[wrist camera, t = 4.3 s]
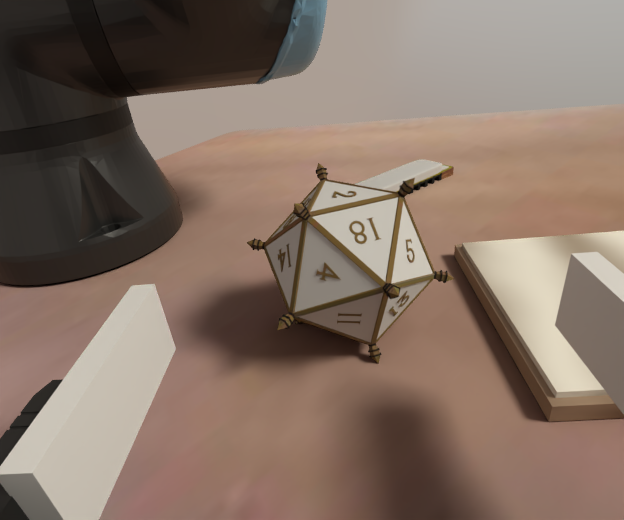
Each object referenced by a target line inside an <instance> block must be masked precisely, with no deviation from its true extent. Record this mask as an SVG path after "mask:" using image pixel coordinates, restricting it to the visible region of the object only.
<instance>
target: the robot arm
mask: <svg viewBox="0 0 624 520" xmlns="http://www.w3.org/2000/svg"><path fill="white" fill-rule="evenodd" d="M326 8H327V0H0V282H2V283H6V284H13V285H41V284H50V283H57V282H63V281H69V280H74V279H78V278H82V277H86V276H90V275H94V274H97V273H100V272H104V271H107V270H110V269H113V268H115V267H118V266H121V265H123V264H126V263H128V262H131V261H133V260H135V259H137V258H139V257H141V256H143V255H145V254H147V253H149V252H151V251H153V250H154V249H156V248H158V247H159V246H161V245H162V244H164V243H165V242H166V241H168V240H169V239H170V238H171V237H172V236H173V235H174V234H175V233H176V232H177V231H178V230H179V228H180V227H181V224H182V221H183V217H182V213H181V209H180V205H179V202H178V198H177V195H176V193H175V191H174V189H173V188H172V186H171V185H170V183H169V182H168V180H167V179H166V177H165V176H164V174H163V173H162V171H161V170H160V168H159V167H158V165H157V164H156V162H155V160H154V159H153V158H152V156H151V154H150V153H149V152H148V150H147V148H146V147H145V145H144V144H143V142H142V141H141V139H140V138H139V136H138V134H137V132H136V130H135V127H134V123H133V120H132V117H131V113H130V110H129V107H128V103H127V98H126V97H130V96H138V95H147V94H157V93H167V92H176V91H185V90H186V91H187V90H196V89H206V88H216V87H225V86H235V85H245V84H263V83H265V82H267V81H269V80H271V79H277V78H282V77H287V76H292V75H296V74H298V73H301V72H302V71H304V70H305V69H306V68H307V67H308V66H309V65H310V64H311V62H312V61H313V59H314V57H315V55H316V53H317V51H318V48H319V45H320V41H321V37H322V33H323V28H324V22H325V15H326ZM555 326H556V327H557V329H558V330H559V331H560V333H561V334H562V335H563V336H564V338H565V339H566V340H567V342H568V343H569V344H570V346H571V347H572V348H573V349H574V351H575V352H576V353H577V355H578V356H579V357H580V359H581V360H582V361H583V362H584V364H585V365H586V366H587V368H588V369H589V370H590V372H591V373H592V374H593V375H594V377H595V378H596V379H597V381H598V382H599V383H600V385H601V386H602V387H603V388H604V390H605V391H606V392H607V394H608V395H609V396H610V398H611V399H612V400H613V401H614V403H615V404H616V405H617V407H618V408H619V409H620V411H621V412H622V413H623V414H624V273H622V272H621V271H620V270H619V269H618V268H616V267H615V266H614V265H613V264H612V263H610V262H609V261H608V260H607V259H606V258H604V257H603V256H602V255H601V254H600V253H598V252H586V253H572V254H571V257H570V261H569V266H568V270H567V274H566V279H565V283H564V287H563V292H562V296H561V301H560V305H559V309H558V314H557V318H556V322H555ZM175 350H176V348H175V345H174V342H173V339H172V336H171V333H170V330H169V327H168V324H167V321H166V317H165V314H164V311H163V308H162V305H161V302H160V299H159V296H158V293H157V290H156V287H155V284H147V285H133V286H131V287H130V289H129V290H128V291H127V293H126V294H125V296H124V297H123V298H122V300H121V301H120V302H119V304H118V305H117V306H116V308H115V309H114V311H113V312H112V313H111V315H110V316H109V317H108V319H107V320H106V322H105V323H104V324H103V326H102V327H101V328H100V330H99V331H98V333H97V334H96V335H95V337H94V338H93V339H92V341H91V342H90V344H89V345H88V346H87V348H86V349H85V350H84V352H83V353H82V355H81V356H80V357H79V359H78V360H77V361H76V363H75V364H74V366H73V367H72V368H71V370H70V371H69V372H68V374H67V375H66V377H65V378H64V379H63V380H52V381H51V382H50V383H49V384H47V385H46V386H45V387H44V388H42V389H41V390H40V391H39V392H38V393H36V394H35V395H34V396H33V397H32V399H31V400H30V401H29V402H28V404H27V405H26V406H25V408H24V409H23V410H22V411H21V415H20V416H18V417H17V418H16V419H15V421H14V422H13V423H12V424H11V426H10V430H7V431H6V432H5V433H4V435H3V436H2V437H1V439H0V520H99V518H100V516H101V514H102V512H103V509H104V507H105V505H106V503H107V500H108V498H109V496H110V494H111V492H112V489H113V487H114V485H115V483H116V480H117V478H118V476H119V474H120V472H121V469H122V467H123V465H124V463H125V460H126V458H127V456H128V454H129V452H130V449H131V447H132V445H133V443H134V441H135V438H136V436H137V434H138V432H139V429H140V427H141V425H142V423H143V421H144V418H145V416H146V414H147V412H148V409H149V407H150V405H151V403H152V401H153V398H154V396H155V394H156V392H157V390H158V387H159V385H160V383H161V381H162V378H163V376H164V374H165V372H166V370H167V367H168V365H169V363H170V361H171V358H172V356H173V354H174V352H175Z"/></svg>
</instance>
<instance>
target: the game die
mask: <svg viewBox="0 0 624 520" xmlns="http://www.w3.org/2000/svg"><path fill="white" fill-rule="evenodd" d="M326 170H327V168H324V167H323V166H321V165H320V164H319V163H318V167H317V170H316V174H318V175H317V176H318V178H319V179H320V182H319V183H318V184H317V186H316V187H315V188H314V189H313V190H312V191H311V192H310V193H309V194H308V195H307V197H306V198H305V199H304V200H303V201H302V202H301V203H300V204H294V211H293V212H292V213H291V214H290V215H289V216H288V218H287V219H286V220H285V221H284V222H283V223H282V224H281V225H280V226H279V228H278V229H277V230H276V231H275V232H274V233H273V234H272V235H271V236H270V238H269V239H268V240H267V241H266V242H262V241H261V240H256V239H254V240H252V241H249V242H247V243H248V244H249V245H250V246H251V247H252V248H253V250H254V249H257V250H258V251H259V249H264V250H265V253H266V256H267V258H268V261H269V263H270V266H271V268H272V271H273V274H274V276H275V279H276V281H277V284H278V287H279V289H280V292H281V294H282V297H283V300H284V302H285V305H286V307H287V310H288V314H287V315H283V317H282V318H279V326H278V330H280V329H284V328H285V329H287V328H289V326H290V325H291V324H293V320H295V324H298V323H299V324H301V323H307V324H310V325H313V326H316V327H319V328H322V329H324V330H327V331H330V332H333V333H336V334H339V335H342V336H344V337H347V338H350V339H353V340H356V341H359V342H362V343H365V344H367V345H369V351H368V352H370V356H369V357H371V358H373V359H374V360H375V361H376V362H377V363H379V359H380V355H381V353H380V352H379V348H378V347H377V346H376V342H377V341H378V340H379V339H380V338H381V337H382V336H383V334H384V333H385V332H386V331H387V330H388V329H389V328H390V327H391V326H392V324H393V323H394V322H395V321H396V320H397V319H398V318H399V317H400V316H401V314H402V313H403V312H404V311H405V310H406V309H407V308H408V307H409V306H410V304H411V303H412V302H413V301H414V300H415V299H416V298H417V297H418V296H419V294H420V293H421V292H422V291H423V290H424V289H425V288H426V287H427V286H428V284H429V283H430V282H431V281H432V280H433V279H437V280H438V281H439V282H440V281H443V283H445V282H446V281H449V280H452V279H454V278H453V277H452V276H451V275H450V274H448V273H447V271H446V272H442V270H441V271H439V272H436V271H434V268H433V266H432V264H431V261H430V259H429V256H428V254H427V251H426V249H425V247H424V244H423V242H422V239H421V237H420V234H419V232H418V230H417V227H416V225H415V222H414V220H413V217H412V215H411V212H410V210H409V208H408V205H407V203H406V200H405V198H404V197H405V195H407V194H410V191H411V190H414V186H413V185H414V180H415V178H412V179H409V180H407V181H403V184H402V185H400V186H399V187H400V189H399V191H398V192H394V191H389V190H383V189H377V188H372V187H366V186H360V185H355V184H349V183H343V182H338V181H332V180H328V179H327V174H328V173H326Z"/></svg>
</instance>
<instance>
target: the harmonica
mask: <svg viewBox="0 0 624 520" xmlns="http://www.w3.org/2000/svg"><path fill="white" fill-rule="evenodd" d="M451 175H453V167H452V166H447V165H442V163H438V162H433V161H428V160H416V161H413V162H410V163H408V164H405V165H403V166H400V167H397V168H395V169H392V170H390V171H387V172H385V173H382V174H379V175H377V176H374V177H372V178H369V179H367V180H364V181H361V182H359V183H356V184H355V185H360V186H366V187H372V188H377V189H383V190H389V191H394V192H398V191H399V189H400V187H399V186H400V185H402V184H403V181H407V180H409V179H412V178H415V180H414V185H413V186H414V189H415V190H419V189H420V186H424V187H426V186H428V183H431V184H433V183H434V180H441V179H444V178H446V177H448V176H451ZM410 193H413V190H411V191H410ZM405 196H406V195H405Z"/></svg>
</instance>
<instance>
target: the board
mask: <svg viewBox="0 0 624 520" xmlns="http://www.w3.org/2000/svg"><path fill="white" fill-rule="evenodd" d="M586 252H598V253H600V254H601V255H602V256H603V257H604V258H606V259H607V260H608V261H609V262H610V263H612V264H613V265H614V266H615V267H616V268H618V269H619V270H620V271H621V272H622V273H624V231H614V232H601V233H588V234H575V235H562V236H549V237H536V238H523V239H510V240H497V241H484V242H470V243H462V244H460V245H455V252H454V256H455V258H456V260H457V262H458V263H459V265H460V267H461V269H462V270H463V272H464V274H465V276H466V277H467V279H468V281H469V283H470V284H471V286H472V288H473V290H474V291H475V293H476V295H477V297H478V298H479V300H480V302H481V304H482V305H483V307H484V309H485V311H486V313H487V314H488V316H489V318H490V320H491V321H492V323H493V325H494V327H495V328H496V330H497V332H498V334H499V335H500V337H501V339H502V341H503V342H504V344H505V346H506V348H507V349H508V351H509V353H510V355H511V356H512V358H513V360H514V362H515V363H516V365H517V367H518V369H519V370H520V372H521V374H522V376H523V377H524V379H525V381H526V383H527V384H528V386H529V388H530V390H531V392H532V393H533V395H534V397H535V399H536V400H537V402H538V404H539V406H540V407H541V409H542V411H543V413H544V414H545V416H546V418H547V420H548V421H549V422H552V421H572V420H593V419H614V418H624V414H623V413H622V412H621V411H620V409H619V408H618V407H617V405H616V404H615V403H614V401H613V400H612V399H611V398H610V396H609V395H608V394H607V392H606V391H605V390H604V388H603V387H602V386H601V385H600V383H599V382H598V381H597V379H596V378H595V377H594V375H593V374H592V373H591V372H590V370H589V369H588V368H587V366H586V365H585V364H584V362H583V361H582V360H581V359H580V357H579V356H578V355H577V353H576V352H575V351H574V349H573V348H572V347H571V346H570V344H569V343H568V342H567V340H566V339H565V338H564V336H563V335H562V334H561V333H560V331H559V330H558V329H557V327H556V326H555V322H556V318H557V314H558V309H559V305H560V301H561V296H562V292H563V287H564V283H565V279H566V274H567V270H568V266H569V261H570V257H571V254H572V253H586Z"/></svg>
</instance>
